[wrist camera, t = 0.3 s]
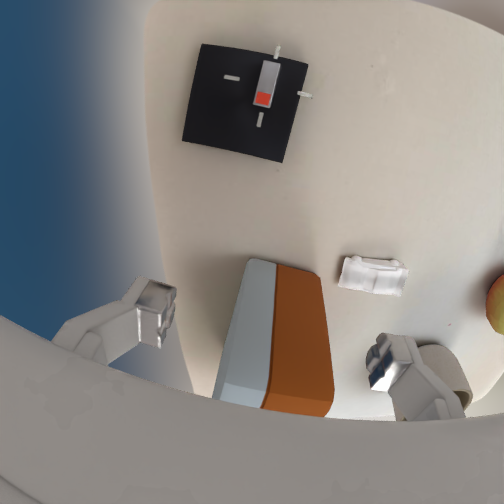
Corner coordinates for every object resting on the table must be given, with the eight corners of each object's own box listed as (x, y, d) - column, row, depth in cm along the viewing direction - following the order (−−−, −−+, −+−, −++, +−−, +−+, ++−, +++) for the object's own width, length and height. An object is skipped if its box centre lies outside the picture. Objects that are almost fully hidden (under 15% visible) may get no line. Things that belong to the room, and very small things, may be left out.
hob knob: (265, 63, 23) (263, 59, 20) (281, 67, 23) (280, 63, 20) (256, 103, 25) (252, 104, 22) (271, 107, 25) (269, 108, 22)
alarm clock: (277, 365, 44) (268, 489, 27) (222, 353, 44) (193, 477, 26) (321, 269, 35) (342, 428, 18) (249, 251, 35) (215, 408, 17)
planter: (424, 324, 38) (448, 381, 29) (463, 348, 40) (484, 396, 31) (370, 373, 44) (380, 429, 35) (413, 389, 46) (426, 437, 37)
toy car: (394, 289, 36) (398, 300, 34) (336, 284, 36) (338, 295, 34) (404, 258, 33) (410, 268, 31) (344, 251, 34) (347, 261, 32)
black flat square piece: (209, 37, 24) (203, 33, 22) (320, 59, 24) (323, 56, 22) (187, 138, 29) (181, 141, 27) (293, 161, 30) (293, 166, 28)
